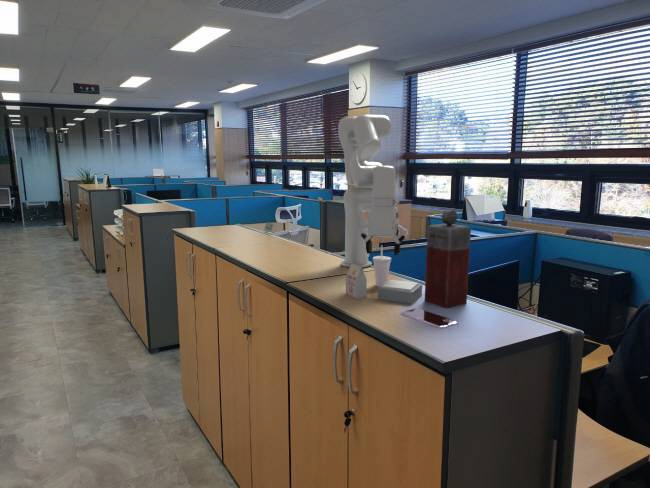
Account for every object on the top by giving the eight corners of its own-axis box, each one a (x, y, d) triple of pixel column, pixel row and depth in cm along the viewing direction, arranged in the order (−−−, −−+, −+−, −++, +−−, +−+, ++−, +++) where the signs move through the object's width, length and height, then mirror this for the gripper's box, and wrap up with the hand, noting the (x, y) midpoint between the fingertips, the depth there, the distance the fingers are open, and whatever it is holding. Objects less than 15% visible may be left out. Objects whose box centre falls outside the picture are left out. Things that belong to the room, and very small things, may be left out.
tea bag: (355, 292, 154) (356, 262, 152) (366, 297, 148) (366, 266, 146) (345, 293, 152) (346, 263, 151) (355, 299, 146) (356, 267, 145)
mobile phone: (417, 306, 136) (460, 320, 124) (417, 310, 136) (459, 324, 125) (398, 311, 132) (441, 326, 120) (398, 315, 132) (440, 330, 120)
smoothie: (369, 286, 161) (370, 246, 159) (374, 282, 167) (375, 243, 165) (388, 288, 159) (389, 247, 156) (392, 284, 165) (393, 244, 162)
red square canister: (439, 294, 151) (443, 207, 147) (467, 303, 142) (472, 210, 137) (418, 299, 146) (422, 208, 142) (446, 308, 137) (451, 212, 133)
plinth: (388, 290, 156) (389, 278, 155) (421, 294, 151) (422, 282, 151) (377, 299, 146) (378, 286, 146) (412, 303, 142) (413, 290, 141)
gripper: (412, 203, 158) (410, 254, 160) (363, 202, 165) (362, 250, 167) (405, 204, 151) (404, 257, 153) (355, 203, 158) (354, 253, 161)
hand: (382, 253), depth 160 cm, fingers open, 9 cm apart
